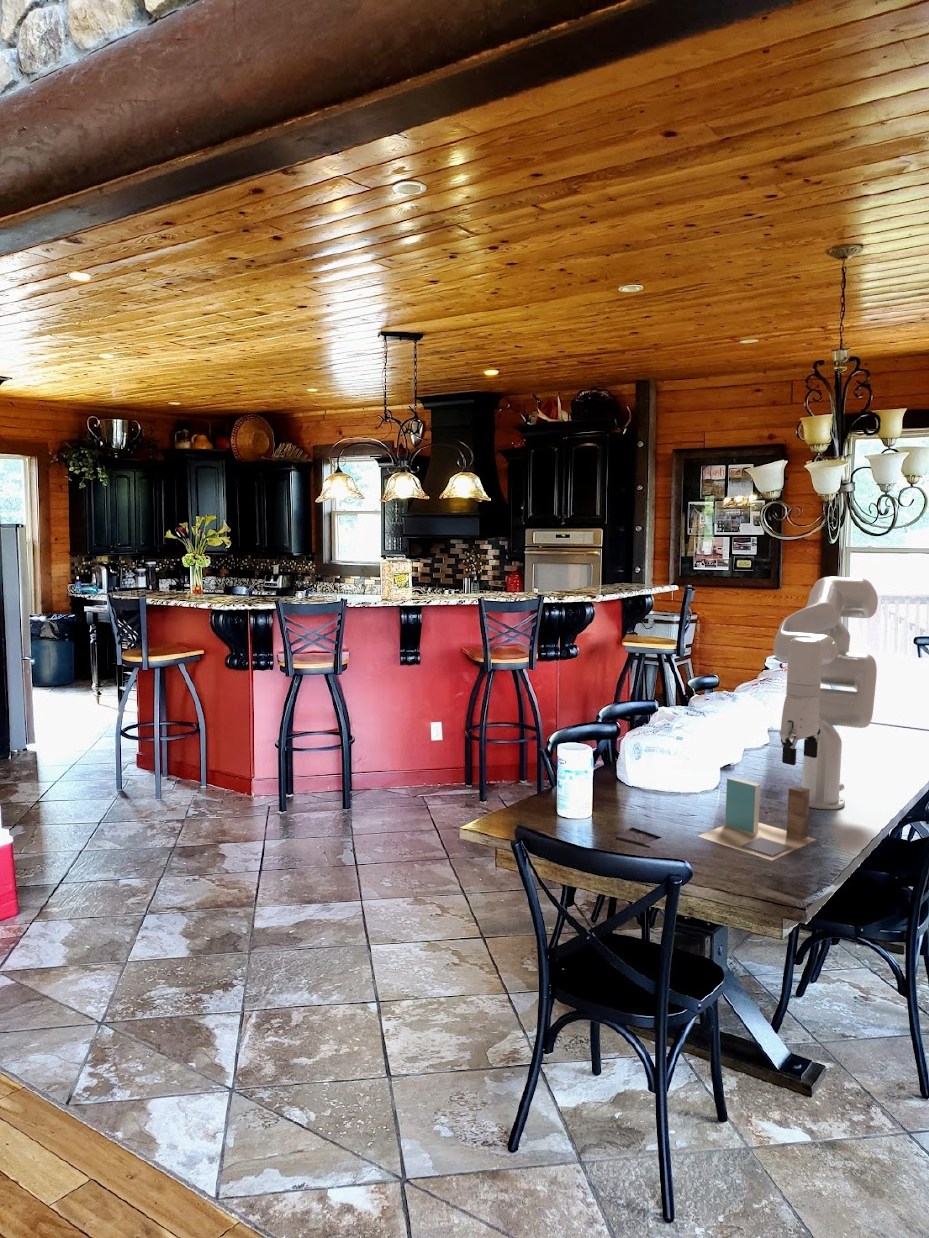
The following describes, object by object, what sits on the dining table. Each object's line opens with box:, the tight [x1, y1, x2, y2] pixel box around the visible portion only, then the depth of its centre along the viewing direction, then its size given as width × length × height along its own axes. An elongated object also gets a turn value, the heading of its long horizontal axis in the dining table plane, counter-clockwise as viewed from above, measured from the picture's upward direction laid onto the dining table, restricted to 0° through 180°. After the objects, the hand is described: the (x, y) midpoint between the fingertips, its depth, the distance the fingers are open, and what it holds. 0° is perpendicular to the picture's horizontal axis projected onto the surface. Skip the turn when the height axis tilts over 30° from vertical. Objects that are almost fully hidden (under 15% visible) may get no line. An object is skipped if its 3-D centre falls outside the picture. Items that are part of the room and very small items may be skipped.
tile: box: [724, 776, 761, 834], centre depth 225 cm, size 2×8×12 cm, turn 41°
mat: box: [742, 837, 791, 857], centre depth 213 cm, size 8×8×1 cm
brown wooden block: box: [786, 785, 810, 841], centre depth 219 cm, size 4×4×12 cm
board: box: [697, 822, 817, 861], centre depth 219 cm, size 20×20×1 cm
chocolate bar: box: [615, 827, 663, 848], centre depth 226 cm, size 9×1×18 cm
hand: (799, 760), depth 218 cm, fingers open, 9 cm apart
